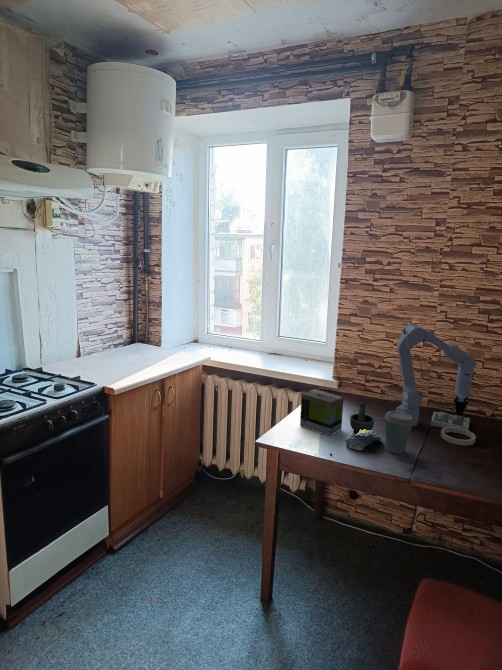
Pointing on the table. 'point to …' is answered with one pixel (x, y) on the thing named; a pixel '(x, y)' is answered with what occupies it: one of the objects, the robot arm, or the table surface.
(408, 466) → the table surface
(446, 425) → the parts tray
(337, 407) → the small aquarium
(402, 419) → the disposable coffee cup
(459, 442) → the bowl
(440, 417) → the pebble
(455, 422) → the pebble
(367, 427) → the mortar and pestle
